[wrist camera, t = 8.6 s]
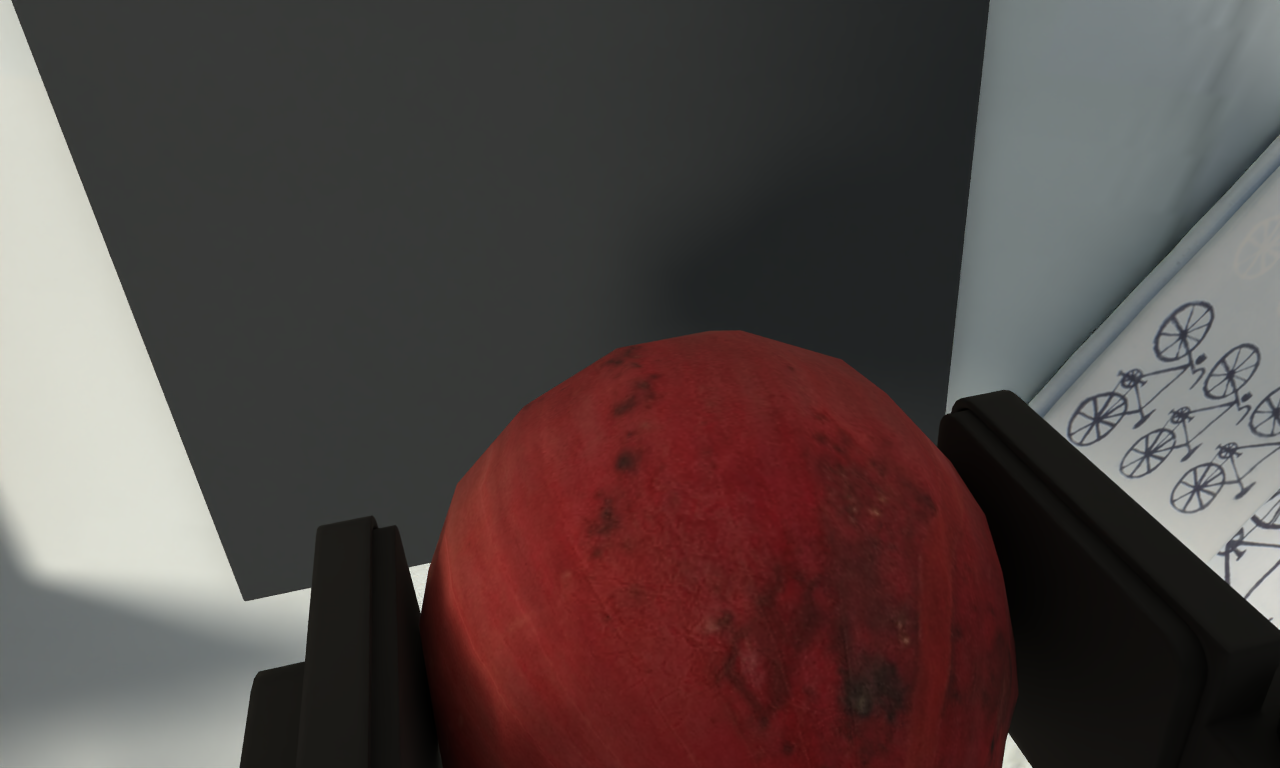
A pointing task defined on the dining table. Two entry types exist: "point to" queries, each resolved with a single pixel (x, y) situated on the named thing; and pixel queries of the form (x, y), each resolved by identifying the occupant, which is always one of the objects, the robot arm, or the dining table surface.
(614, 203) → the mat
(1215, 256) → the bicycle print napkins
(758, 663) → the pomegranate
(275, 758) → the robot arm
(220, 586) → the dining table surface
